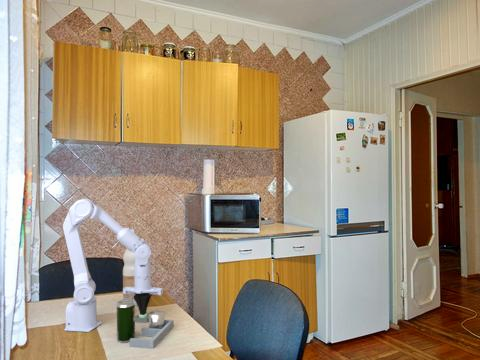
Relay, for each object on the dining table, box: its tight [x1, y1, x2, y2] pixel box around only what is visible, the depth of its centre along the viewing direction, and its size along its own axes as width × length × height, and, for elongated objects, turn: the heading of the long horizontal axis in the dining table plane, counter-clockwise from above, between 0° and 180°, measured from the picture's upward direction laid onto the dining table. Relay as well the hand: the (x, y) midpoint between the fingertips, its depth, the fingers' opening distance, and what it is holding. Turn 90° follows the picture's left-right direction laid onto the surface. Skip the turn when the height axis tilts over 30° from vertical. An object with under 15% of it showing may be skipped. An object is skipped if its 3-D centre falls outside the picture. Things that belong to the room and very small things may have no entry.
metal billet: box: [148, 309, 165, 329], centre depth 122 cm, size 5×5×6 cm
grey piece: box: [129, 319, 174, 349], centre depth 118 cm, size 8×17×2 cm, turn 170°
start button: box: [138, 312, 148, 318], centre depth 132 cm, size 3×3×2 cm
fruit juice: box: [122, 233, 141, 307], centre depth 152 cm, size 9×9×28 cm
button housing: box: [135, 312, 150, 324], centre depth 132 cm, size 5×5×2 cm
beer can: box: [116, 299, 136, 344], centre depth 116 cm, size 5×5×12 cm
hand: (143, 314), depth 132 cm, fingers closed, pressing on start button
